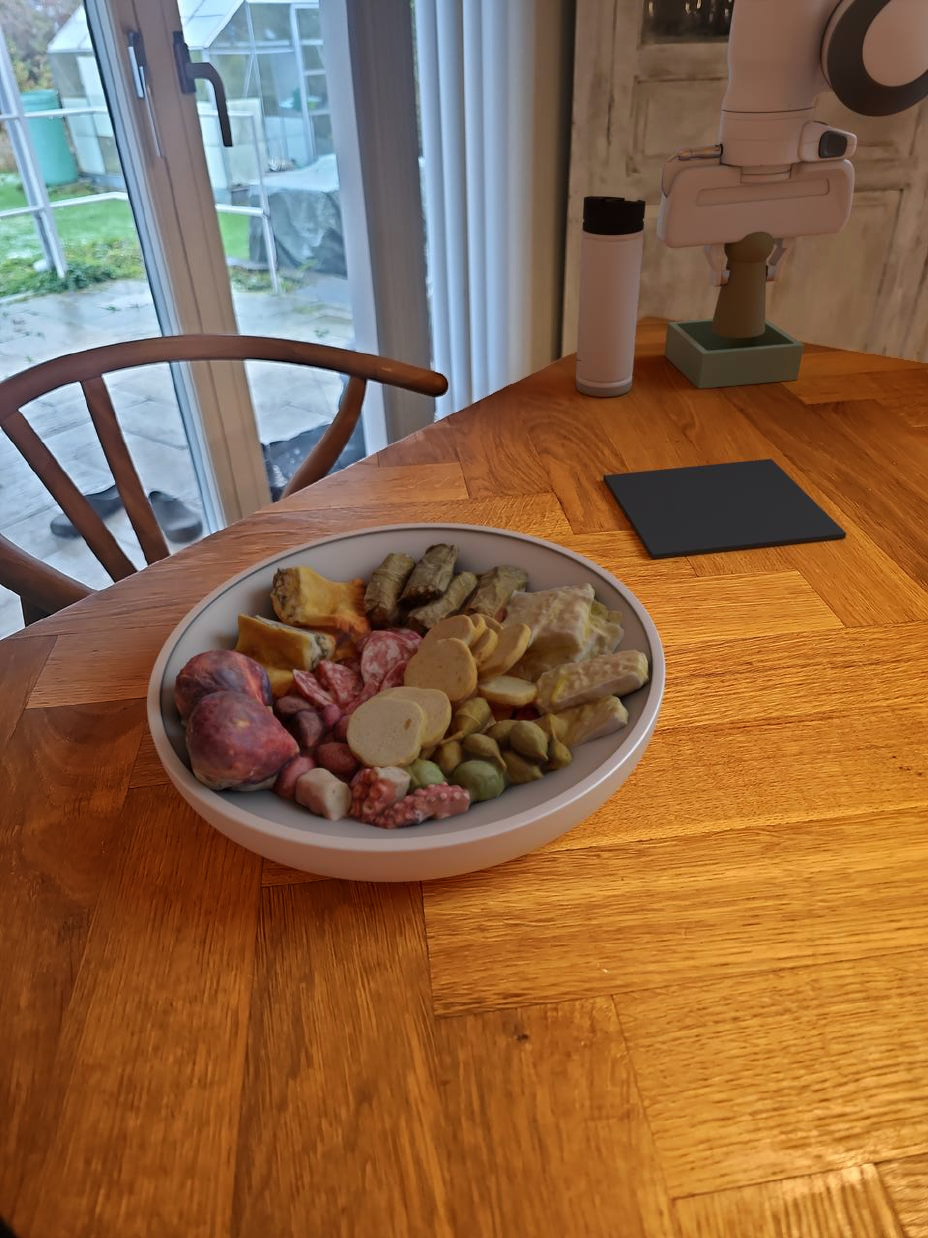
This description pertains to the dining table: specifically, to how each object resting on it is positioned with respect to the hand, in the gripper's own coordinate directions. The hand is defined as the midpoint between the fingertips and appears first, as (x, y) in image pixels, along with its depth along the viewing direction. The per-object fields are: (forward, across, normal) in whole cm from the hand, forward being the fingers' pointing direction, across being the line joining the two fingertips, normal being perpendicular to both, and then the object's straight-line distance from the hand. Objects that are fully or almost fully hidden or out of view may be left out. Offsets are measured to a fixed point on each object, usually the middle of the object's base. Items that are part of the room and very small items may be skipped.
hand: (744, 282), depth 94 cm
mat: (+9, -14, -32) cm, 36 cm away
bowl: (+9, -42, -53) cm, 69 cm away
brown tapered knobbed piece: (+5, 0, 0) cm, 5 cm away
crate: (+10, -1, 0) cm, 10 cm away
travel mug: (+9, -17, -3) cm, 19 cm away
